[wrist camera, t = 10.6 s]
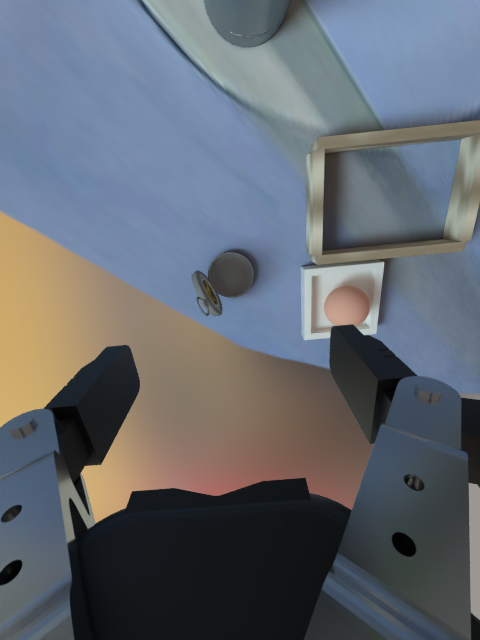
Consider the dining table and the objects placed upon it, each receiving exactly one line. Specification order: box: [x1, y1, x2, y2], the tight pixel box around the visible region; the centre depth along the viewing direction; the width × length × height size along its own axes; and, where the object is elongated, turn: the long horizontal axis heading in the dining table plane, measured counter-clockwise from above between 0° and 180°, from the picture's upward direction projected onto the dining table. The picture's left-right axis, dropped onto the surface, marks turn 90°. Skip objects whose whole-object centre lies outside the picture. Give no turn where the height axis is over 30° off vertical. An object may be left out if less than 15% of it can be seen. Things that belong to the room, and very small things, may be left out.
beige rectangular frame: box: [307, 120, 480, 265], centre depth 34 cm, size 14×20×4 cm
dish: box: [301, 259, 384, 340], centre depth 40 cm, size 11×11×2 cm
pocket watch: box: [192, 252, 254, 316], centre depth 35 cm, size 8×8×10 cm
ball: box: [324, 286, 370, 327], centre depth 38 cm, size 6×6×6 cm
